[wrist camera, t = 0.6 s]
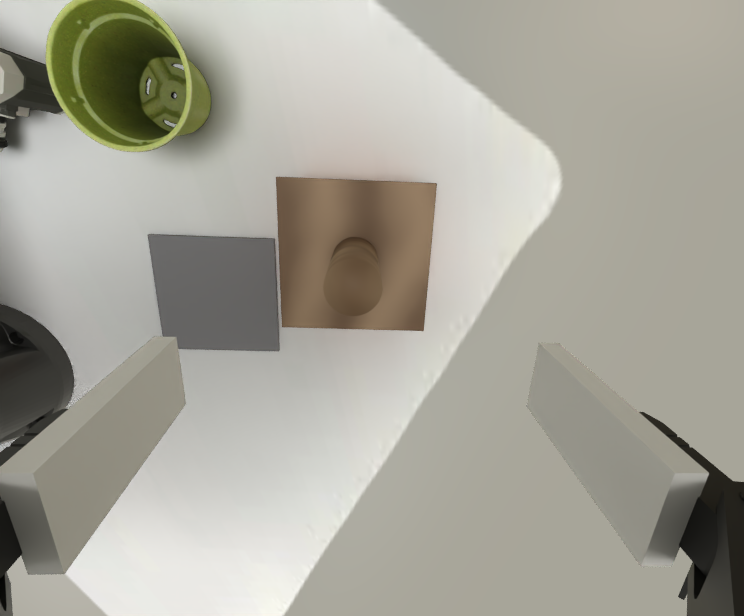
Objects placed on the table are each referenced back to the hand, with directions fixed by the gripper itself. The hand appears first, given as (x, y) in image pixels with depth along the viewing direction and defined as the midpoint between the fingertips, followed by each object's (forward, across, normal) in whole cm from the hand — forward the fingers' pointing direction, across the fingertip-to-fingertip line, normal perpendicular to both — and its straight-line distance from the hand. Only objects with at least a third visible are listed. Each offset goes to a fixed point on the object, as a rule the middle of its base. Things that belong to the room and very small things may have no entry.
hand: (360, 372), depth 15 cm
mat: (+26, -14, -6) cm, 30 cm away
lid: (+19, 0, 0) cm, 19 cm away
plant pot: (+27, -16, +12) cm, 33 cm away
